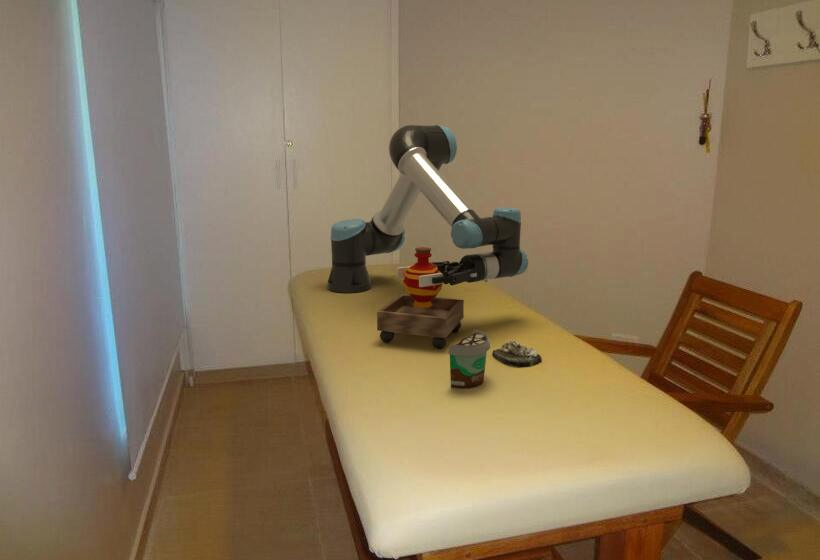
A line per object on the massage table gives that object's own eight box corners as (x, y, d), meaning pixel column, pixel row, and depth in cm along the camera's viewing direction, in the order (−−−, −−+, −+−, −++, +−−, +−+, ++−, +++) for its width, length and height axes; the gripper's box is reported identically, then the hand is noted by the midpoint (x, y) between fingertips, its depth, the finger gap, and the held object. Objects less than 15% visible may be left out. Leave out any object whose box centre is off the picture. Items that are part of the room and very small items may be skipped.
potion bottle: (443, 300, 162) (443, 245, 158) (441, 311, 152) (442, 252, 148) (404, 299, 163) (404, 244, 159) (400, 310, 153) (399, 252, 149)
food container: (473, 396, 123) (475, 350, 121) (447, 389, 126) (448, 344, 124) (498, 376, 133) (500, 333, 131) (473, 370, 137) (474, 328, 134)
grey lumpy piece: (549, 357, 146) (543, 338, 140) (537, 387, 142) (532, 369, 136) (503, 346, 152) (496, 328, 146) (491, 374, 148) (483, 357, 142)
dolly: (377, 343, 154) (377, 311, 152) (401, 323, 170) (401, 294, 168) (445, 352, 148) (445, 318, 146) (463, 330, 165) (463, 299, 163)
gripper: (504, 289, 155) (432, 301, 144) (453, 273, 175) (387, 282, 164) (505, 261, 154) (432, 271, 143) (454, 247, 173) (386, 255, 162)
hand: (408, 277), depth 153 cm, fingers closed on potion bottle, 10 cm apart
